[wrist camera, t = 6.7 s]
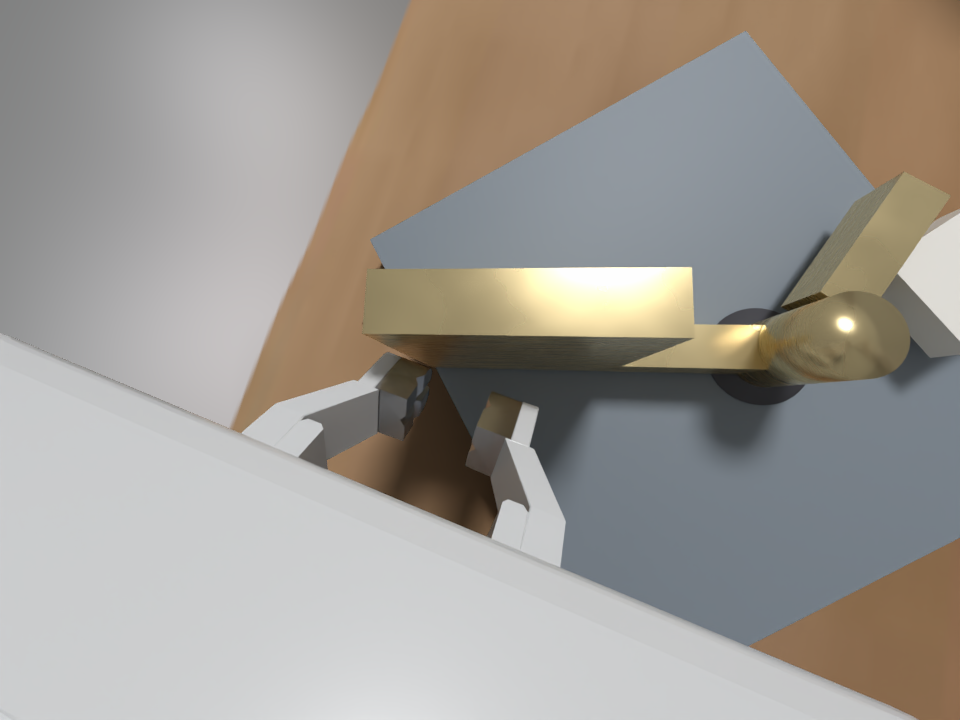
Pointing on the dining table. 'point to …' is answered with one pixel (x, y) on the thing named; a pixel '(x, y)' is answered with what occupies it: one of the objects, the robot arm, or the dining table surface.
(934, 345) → the cover
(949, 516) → the lock plate
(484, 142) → the dining table surface
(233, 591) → the robot arm
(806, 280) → the key
